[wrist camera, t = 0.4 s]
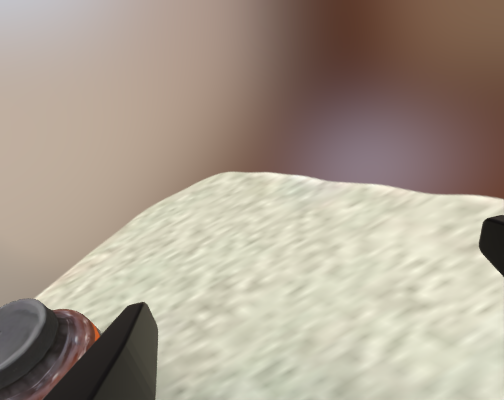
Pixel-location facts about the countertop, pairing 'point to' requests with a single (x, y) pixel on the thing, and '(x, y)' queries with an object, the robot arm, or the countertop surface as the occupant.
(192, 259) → the countertop surface
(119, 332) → the robot arm
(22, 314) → the supplement bottle
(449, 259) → the countertop surface
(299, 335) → the countertop surface
